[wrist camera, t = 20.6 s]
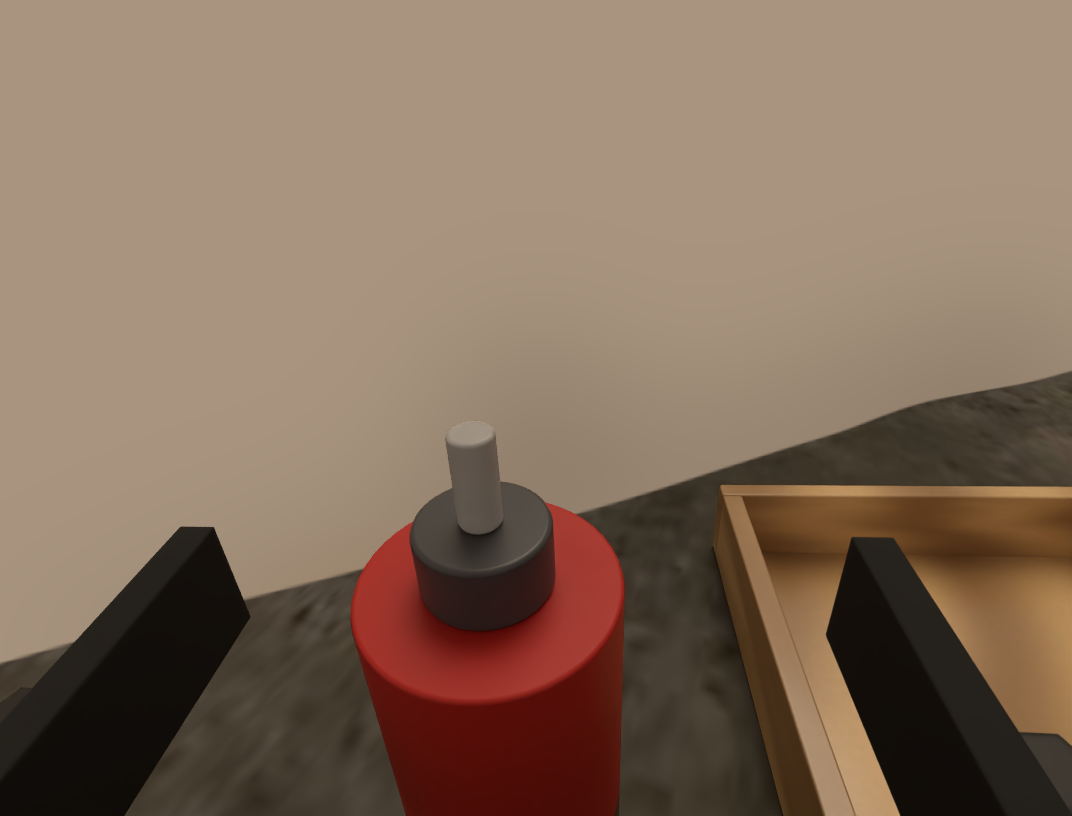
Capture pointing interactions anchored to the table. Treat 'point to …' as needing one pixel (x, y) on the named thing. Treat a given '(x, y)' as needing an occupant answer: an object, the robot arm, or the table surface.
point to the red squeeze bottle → (495, 649)
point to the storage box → (949, 576)
